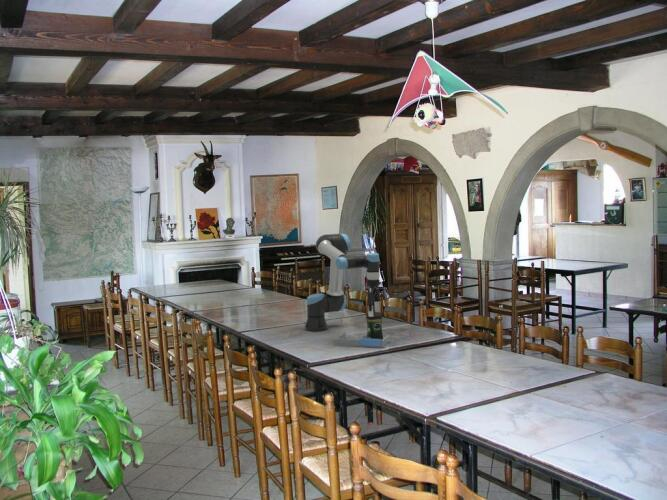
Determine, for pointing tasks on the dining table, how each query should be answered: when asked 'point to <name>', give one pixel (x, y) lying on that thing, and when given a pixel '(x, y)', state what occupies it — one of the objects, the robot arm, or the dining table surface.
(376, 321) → the coffee jar
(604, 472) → the dining table surface
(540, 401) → the dining table surface
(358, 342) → the divided storage rack
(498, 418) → the dining table surface
